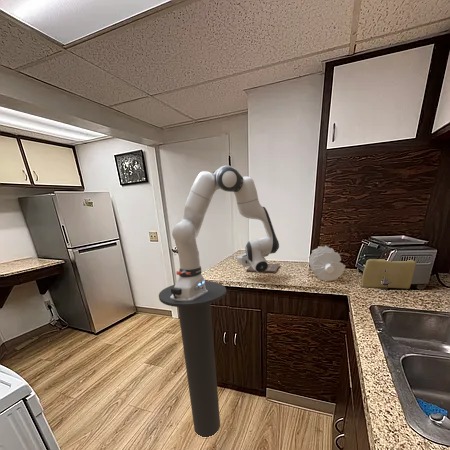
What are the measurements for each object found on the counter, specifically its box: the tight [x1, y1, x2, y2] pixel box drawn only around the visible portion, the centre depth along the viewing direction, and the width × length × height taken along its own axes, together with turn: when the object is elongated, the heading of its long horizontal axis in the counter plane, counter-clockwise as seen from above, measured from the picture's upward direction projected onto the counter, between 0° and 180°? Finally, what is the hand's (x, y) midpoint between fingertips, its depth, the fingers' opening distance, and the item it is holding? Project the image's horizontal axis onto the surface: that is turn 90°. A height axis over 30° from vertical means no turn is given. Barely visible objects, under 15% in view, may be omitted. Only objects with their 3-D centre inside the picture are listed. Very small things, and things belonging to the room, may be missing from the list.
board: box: [245, 263, 281, 274], centre depth 179 cm, size 20×20×2 cm
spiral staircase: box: [308, 245, 346, 282], centre depth 151 cm, size 18×18×25 cm
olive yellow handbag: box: [360, 258, 417, 290], centre depth 130 cm, size 22×10×15 cm, turn 81°
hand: (250, 251), depth 162 cm, fingers closed on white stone, 5 cm apart
